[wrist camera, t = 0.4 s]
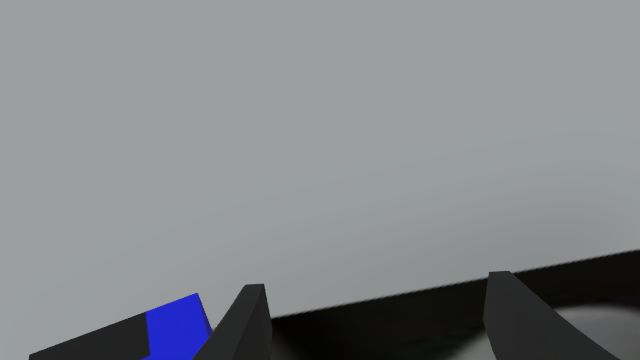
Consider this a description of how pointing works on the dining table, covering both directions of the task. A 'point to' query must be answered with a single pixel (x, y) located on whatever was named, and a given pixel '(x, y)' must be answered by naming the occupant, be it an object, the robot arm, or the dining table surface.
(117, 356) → the puzzle toy
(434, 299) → the dining table surface
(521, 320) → the robot arm
